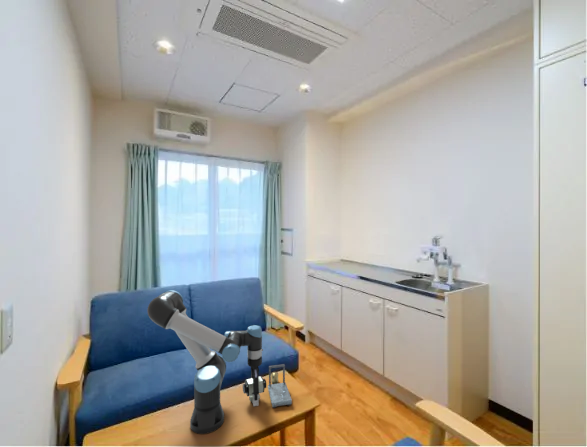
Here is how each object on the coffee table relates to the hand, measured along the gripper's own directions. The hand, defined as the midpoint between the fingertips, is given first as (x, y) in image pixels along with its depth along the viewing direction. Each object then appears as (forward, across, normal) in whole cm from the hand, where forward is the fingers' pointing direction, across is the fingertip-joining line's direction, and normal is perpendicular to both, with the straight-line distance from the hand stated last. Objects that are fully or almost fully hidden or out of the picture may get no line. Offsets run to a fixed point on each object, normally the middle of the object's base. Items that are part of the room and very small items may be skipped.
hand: (254, 399), depth 144 cm
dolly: (+1, 0, -13) cm, 13 cm away
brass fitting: (+1, +15, -13) cm, 20 cm away
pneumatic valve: (+1, 0, 0) cm, 1 cm away
